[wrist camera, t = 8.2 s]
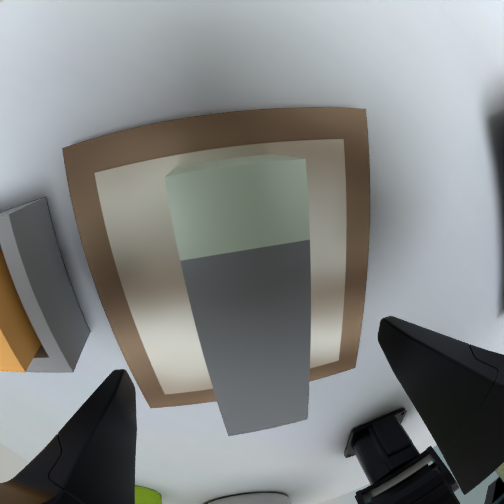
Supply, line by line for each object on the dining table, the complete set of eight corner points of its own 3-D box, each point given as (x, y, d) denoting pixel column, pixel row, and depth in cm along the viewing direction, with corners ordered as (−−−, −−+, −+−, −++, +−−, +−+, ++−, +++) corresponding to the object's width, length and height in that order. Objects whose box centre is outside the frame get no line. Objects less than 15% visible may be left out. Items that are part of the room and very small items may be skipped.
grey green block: (286, 368, 16) (307, 419, 12) (220, 381, 16) (228, 435, 12) (271, 153, 12) (305, 158, 8) (176, 166, 11) (164, 176, 7)
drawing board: (349, 358, 19) (356, 369, 18) (151, 397, 17) (150, 410, 16) (355, 110, 13) (367, 108, 11) (71, 147, 11) (60, 148, 10)
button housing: (90, 332, 14) (73, 372, 11) (3, 337, 13) (-19, 369, 10) (45, 197, 11) (8, 214, 8) (-40, 229, 10) (-73, 248, 7)
